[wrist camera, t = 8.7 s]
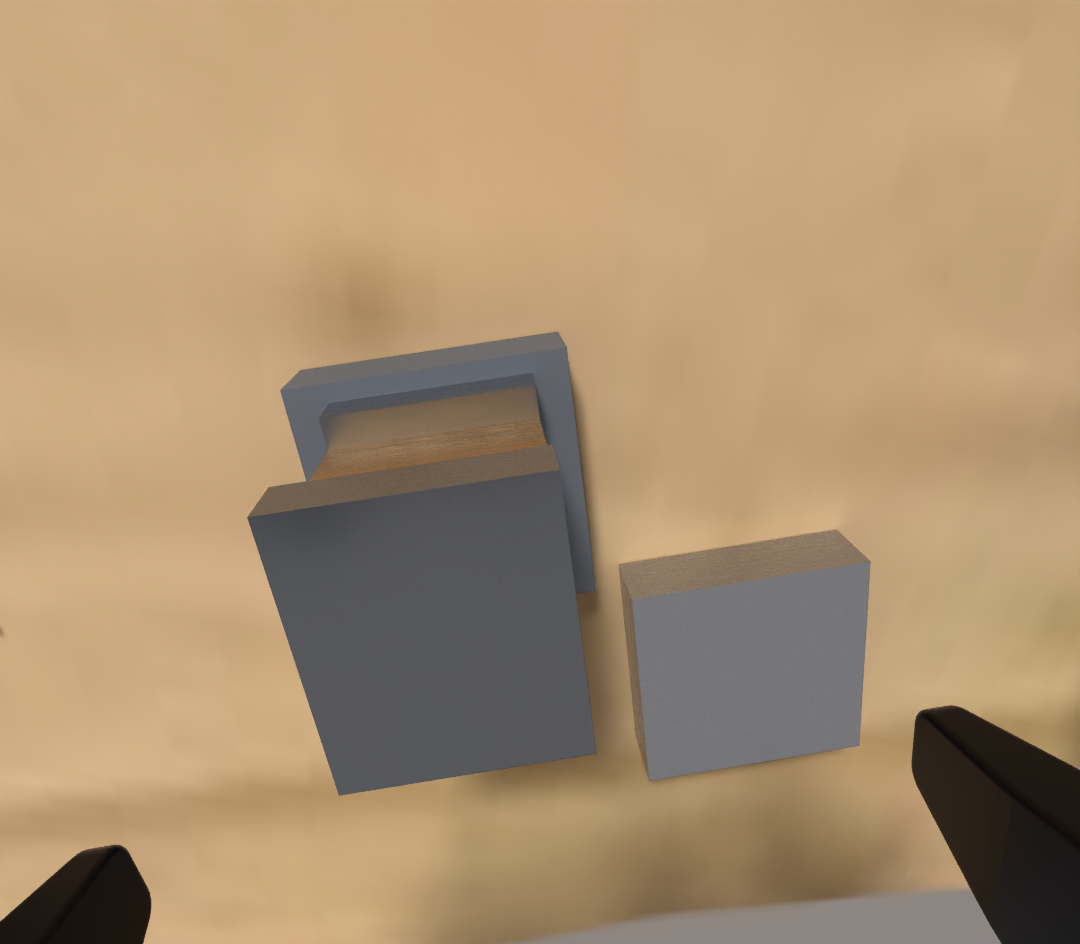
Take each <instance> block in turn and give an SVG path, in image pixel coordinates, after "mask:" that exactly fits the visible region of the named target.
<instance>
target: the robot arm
mask: <svg viewBox="0 0 1080 944" xmlns="http://www.w3.org/2000/svg"><path fill="white" fill-rule="evenodd" d="M912 772H913V776H914V779H915V782H916V785H917V787H918V789H919V791H920V793H921V795H922V797H923V798H924V800H925V802H926V804H927V806H928V808H929V810H930V812H931V814H932V816H933V818H934V820H935V821H936V823H937V825H938V827H939V829H940V831H941V833H942V835H943V837H944V839H945V841H946V843H947V844H948V846H949V848H950V850H951V852H952V854H953V856H954V858H955V860H956V862H957V864H958V865H959V867H960V869H961V871H962V873H963V875H964V877H965V879H966V881H967V883H968V885H969V887H970V888H971V890H972V892H973V894H974V896H975V898H976V900H977V902H978V904H979V905H980V907H981V909H982V911H983V913H984V915H985V916H986V918H987V920H988V922H989V924H990V925H991V927H992V929H993V930H994V932H995V934H996V935H997V937H998V939H999V940H1000V942H1001V943H1002V944H1080V770H1079V769H1077V768H1075V767H1074V766H1072V765H1070V764H1068V763H1066V762H1064V761H1062V760H1060V759H1058V758H1056V757H1055V756H1053V755H1051V754H1049V753H1047V752H1045V751H1043V750H1041V749H1039V748H1037V747H1036V746H1034V745H1032V744H1030V743H1028V742H1026V741H1024V740H1022V739H1020V738H1018V737H1017V736H1015V735H1013V734H1011V733H1009V732H1007V731H1005V730H1003V729H1001V728H999V727H998V726H996V725H994V724H992V723H990V722H988V721H986V720H984V719H982V718H980V717H979V716H977V715H975V714H973V713H971V712H969V711H967V710H965V709H963V708H961V707H958V706H952V705H950V706H943V707H937V708H931V709H925V710H922V711H920V712H919V713H918V715H917V716H916V720H915V729H914V740H913V751H912ZM150 914H151V897H150V892H149V890H148V888H147V886H146V884H145V882H144V880H143V878H142V876H141V874H140V872H139V871H138V869H137V867H136V865H135V863H134V861H133V859H132V857H131V855H130V854H129V852H128V850H127V849H126V848H124V847H123V846H121V845H110V846H104V847H98V848H92V849H87V850H84V851H82V852H80V853H78V854H77V855H76V856H74V857H73V858H72V859H71V860H70V861H68V862H67V863H66V864H65V865H64V866H63V867H62V868H61V869H59V870H58V871H57V872H56V873H55V874H54V875H53V876H51V877H50V878H49V879H48V880H47V881H46V882H45V883H43V884H42V885H41V886H40V887H39V888H38V889H37V890H36V891H34V892H33V893H32V894H31V895H30V896H29V897H28V898H26V899H25V900H24V901H23V902H22V903H21V904H20V905H18V906H17V907H16V908H15V909H14V910H13V911H12V912H11V913H9V914H8V915H7V916H6V917H5V918H4V919H3V920H1V921H0V944H143V942H144V938H145V934H146V930H147V927H148V923H149V919H150Z"/></svg>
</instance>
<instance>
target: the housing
mask: <svg viewBox="0 0 1080 944" xmlns="http://www.w3.org/2000/svg"><path fill="white" fill-rule="evenodd" d="M319 421H320V424H321V428H322V432H323V436H324V439H325V443H326V447H327V452H326V454H325V455H324V457H323V459H322V460H321V462H320V464H319V465H318V467H317V469H316V470H315V472H314V474H313V475H312V477H311V479H310V481H307V482H300V483H293V484H287V485H280V486H274V487H269V488H268V489H267V491H266V492H265V493H264V495H263V496H262V497H261V499H260V500H259V502H258V503H257V504H256V506H255V507H254V509H253V510H252V511H251V513H250V514H249V516H248V517H247V518H248V521H249V524H250V527H251V530H252V533H253V536H254V539H255V542H256V545H257V548H258V551H259V554H260V557H261V560H262V563H263V566H264V569H265V572H266V575H267V579H268V582H269V585H270V588H271V591H272V594H273V597H274V600H275V603H276V606H277V609H278V612H279V615H280V618H281V621H282V624H283V627H284V630H285V633H286V636H287V639H288V642H289V645H290V648H291V651H292V654H293V657H294V660H295V663H296V666H297V669H298V672H299V675H300V679H301V682H302V685H303V688H304V691H305V694H306V697H307V700H308V703H309V706H310V709H311V712H312V715H313V718H314V721H315V724H316V727H317V730H318V733H319V736H320V739H321V742H322V745H323V748H324V751H325V754H326V757H327V760H328V763H329V766H330V769H331V772H332V775H333V778H334V782H335V785H336V788H337V791H338V794H339V796H340V795H346V794H352V793H358V792H364V791H370V790H376V789H382V788H389V787H395V786H401V785H407V784H413V783H419V782H425V781H431V780H437V779H444V778H450V777H456V776H462V775H468V774H474V773H480V772H486V771H492V770H499V769H505V768H511V767H517V766H523V765H529V764H535V763H541V762H547V761H554V760H560V759H566V758H572V757H578V756H584V755H590V754H596V747H595V739H594V731H593V724H592V716H591V708H590V700H589V693H588V685H587V677H586V669H585V662H584V654H583V646H582V639H581V631H580V623H579V615H578V608H577V600H576V592H575V584H574V577H573V569H572V561H571V554H570V546H569V538H568V530H567V523H566V515H565V507H564V499H563V492H562V484H561V476H560V469H559V466H558V462H557V459H556V455H555V452H554V448H553V445H552V444H551V445H547V444H546V440H545V436H544V432H543V429H542V425H541V421H540V416H539V409H538V402H537V395H536V387H535V383H534V379H533V376H532V373H528V374H521V375H514V376H507V377H501V378H494V379H487V380H481V381H474V382H467V383H460V384H454V385H447V386H440V387H434V388H427V389H420V390H413V391H407V392H400V393H393V394H386V395H380V396H373V397H366V398H360V399H353V400H346V401H339V402H333V403H329V404H328V406H327V407H326V408H325V410H324V411H323V413H322V414H321V415H320V417H319Z"/></svg>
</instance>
